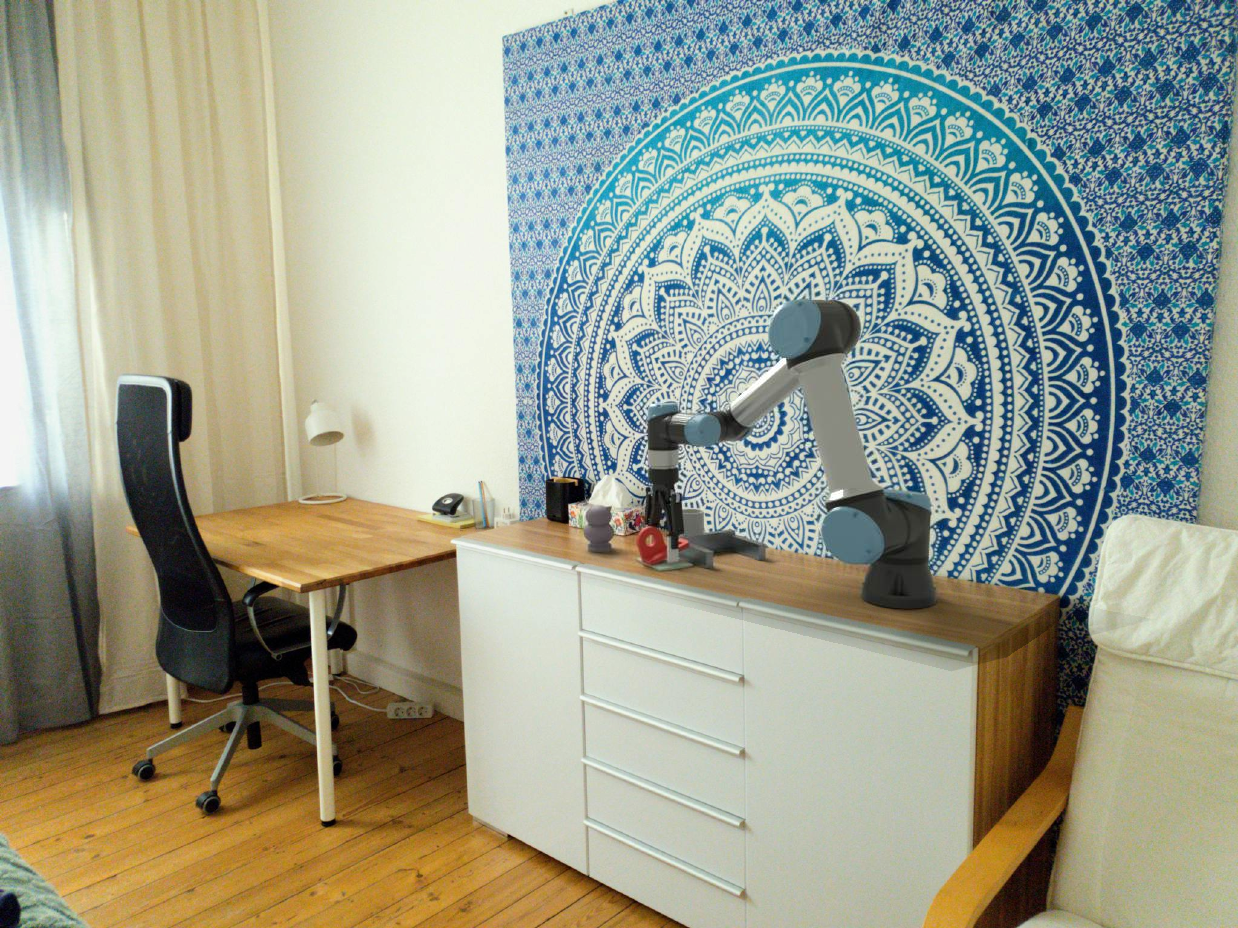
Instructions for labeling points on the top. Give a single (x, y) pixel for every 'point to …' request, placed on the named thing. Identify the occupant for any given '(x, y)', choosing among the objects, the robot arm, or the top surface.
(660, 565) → the mat
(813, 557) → the top surface
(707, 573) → the top surface
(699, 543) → the grey u-shaped frame
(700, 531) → the cup
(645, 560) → the bracket
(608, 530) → the cat figurine
